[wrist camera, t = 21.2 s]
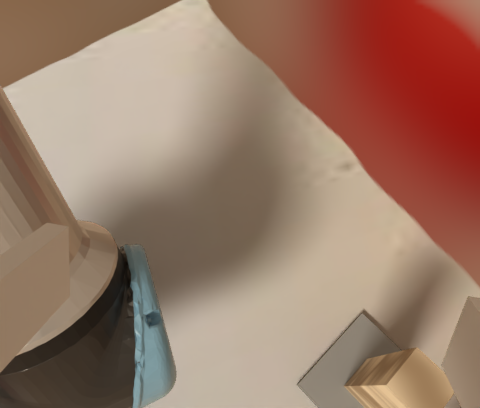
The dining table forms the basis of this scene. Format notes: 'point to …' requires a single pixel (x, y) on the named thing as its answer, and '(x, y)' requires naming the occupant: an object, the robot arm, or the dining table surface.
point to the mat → (345, 364)
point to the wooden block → (400, 382)
